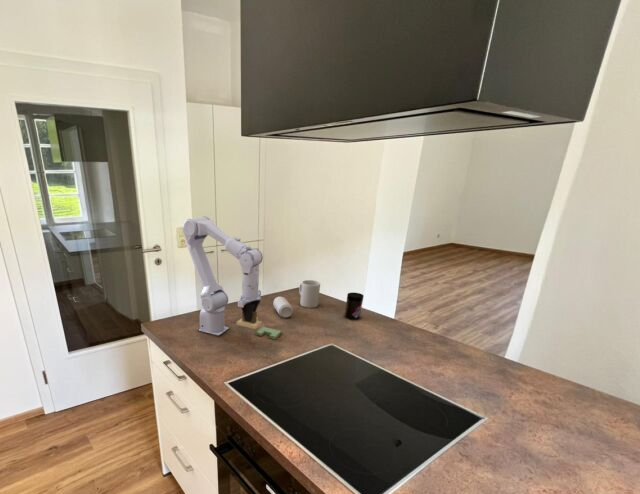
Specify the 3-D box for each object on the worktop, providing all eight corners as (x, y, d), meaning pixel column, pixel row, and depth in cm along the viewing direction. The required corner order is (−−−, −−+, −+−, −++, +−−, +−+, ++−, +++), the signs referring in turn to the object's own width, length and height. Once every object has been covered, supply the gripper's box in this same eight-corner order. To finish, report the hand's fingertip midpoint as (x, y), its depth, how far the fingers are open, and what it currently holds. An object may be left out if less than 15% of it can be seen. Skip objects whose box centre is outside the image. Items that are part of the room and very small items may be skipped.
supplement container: (349, 320, 155) (352, 298, 151) (341, 314, 161) (344, 293, 157) (363, 319, 157) (366, 297, 152) (354, 313, 162) (358, 292, 158)
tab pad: (236, 324, 132) (236, 311, 130) (245, 317, 138) (246, 305, 136) (255, 329, 128) (256, 315, 126) (264, 322, 135) (265, 309, 132)
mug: (321, 306, 171) (324, 283, 166) (307, 309, 167) (310, 286, 162) (305, 298, 180) (307, 277, 176) (291, 301, 176) (293, 279, 172)
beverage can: (277, 317, 155) (270, 306, 166) (290, 320, 156) (283, 309, 167) (281, 303, 153) (275, 294, 163) (295, 306, 154) (287, 297, 165)
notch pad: (256, 334, 140) (256, 332, 140) (262, 329, 145) (262, 326, 145) (275, 339, 137) (275, 336, 137) (281, 333, 142) (281, 330, 141)
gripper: (251, 291, 118) (250, 329, 124) (269, 280, 130) (267, 315, 136) (232, 288, 121) (232, 324, 127) (251, 277, 133) (250, 311, 139)
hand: (249, 319), depth 131 cm, fingers closed on tab pad
